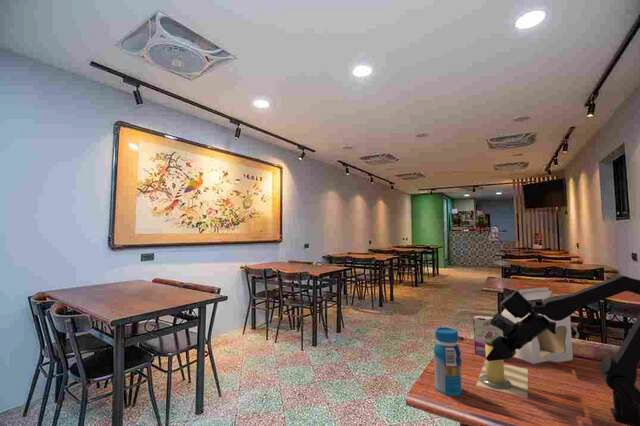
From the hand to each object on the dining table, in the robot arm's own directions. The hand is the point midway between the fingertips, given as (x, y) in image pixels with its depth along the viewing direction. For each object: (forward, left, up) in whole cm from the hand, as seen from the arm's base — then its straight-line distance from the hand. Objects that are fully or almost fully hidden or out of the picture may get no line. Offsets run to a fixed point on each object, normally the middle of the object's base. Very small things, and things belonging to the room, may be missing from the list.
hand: (491, 355), depth 106 cm
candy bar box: (+26, +3, -10) cm, 28 cm away
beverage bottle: (-13, +11, -10) cm, 20 cm away
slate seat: (0, -1, -8) cm, 9 cm away
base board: (+6, -3, -10) cm, 12 cm away
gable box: (+37, -13, -10) cm, 40 cm away
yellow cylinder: (0, -1, -8) cm, 8 cm away
